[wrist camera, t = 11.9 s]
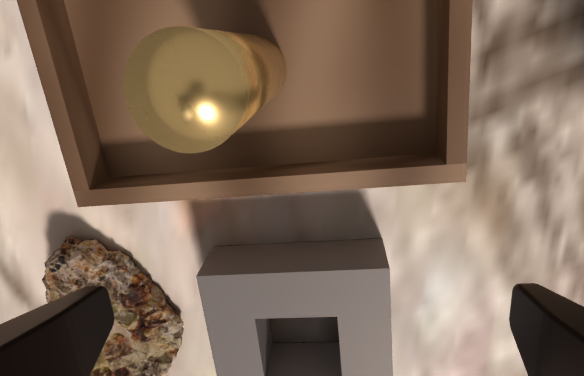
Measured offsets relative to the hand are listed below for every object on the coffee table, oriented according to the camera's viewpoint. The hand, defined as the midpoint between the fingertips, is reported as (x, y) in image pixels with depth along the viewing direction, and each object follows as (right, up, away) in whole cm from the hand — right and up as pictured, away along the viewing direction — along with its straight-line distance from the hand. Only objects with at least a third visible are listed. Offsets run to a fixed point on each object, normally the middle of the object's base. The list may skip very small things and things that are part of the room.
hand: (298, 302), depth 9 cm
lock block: (0, -5, +14) cm, 15 cm away
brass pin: (-2, +8, +9) cm, 12 cm away
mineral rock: (-11, -5, +16) cm, 20 cm away
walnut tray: (-2, +8, +10) cm, 13 cm away
